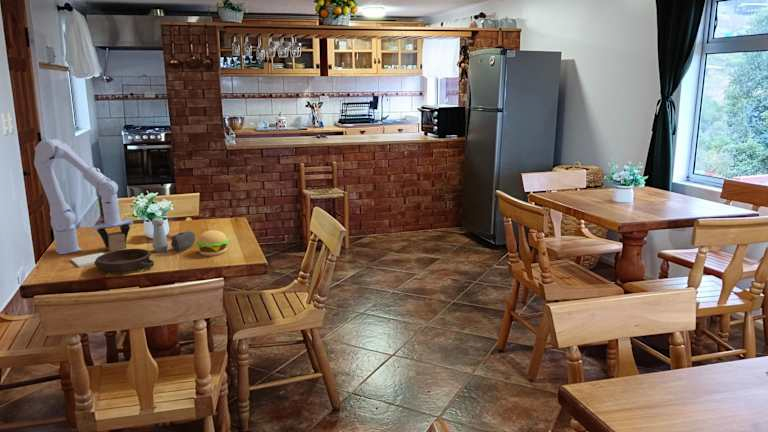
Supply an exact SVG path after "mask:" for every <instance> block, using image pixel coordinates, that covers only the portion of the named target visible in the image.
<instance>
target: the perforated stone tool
mask: <svg viewBox="0 0 768 432" xmlns="http://www.w3.org/2000/svg"><path fill="white" fill-rule="evenodd" d="M170 239H171V243H170V245H171V248H172V249H173V250H172V251H174V252H176V253H177V252H178V253H180V252H184V251H186V250H187V249H189V248H191V247H192V246H193V245H194V243H195V241H196V235H195V233H194V232H193V231H182V232H178V233H176V234H174V235H172V236H170Z"/></svg>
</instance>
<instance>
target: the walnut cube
mask: <svg viewBox="0 0 768 432" xmlns="http://www.w3.org/2000/svg"><path fill="white" fill-rule="evenodd" d="M107 240H108V245H109V247H105V249H106V250H107V251H108V252H113V251H117V250H123V249H127V240H126V241H125V234H124V233H122V232H121V230H120V231H114V232H109V233H108V232H107Z"/></svg>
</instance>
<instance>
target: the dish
mask: <svg viewBox="0 0 768 432" xmlns="http://www.w3.org/2000/svg"><path fill="white" fill-rule="evenodd" d="M151 255H152V252H151V251H150V250H147V249H144V248H143V249H142V248H126V249H122V250H117V251H112V252H110V251H108V252H107V253H104V254H103V255H101V256H99V257H98V258H97V259H96V261H95V262H94V263H95V264H94V265H95V267H98V268H100V269H101V270H102V271H103V272H105V273H109V274H125V273H128V274H129V273H133V272H137V271H140V270H143V269H150V268H153V267H154V265H155V261H153V259H150V257H151Z"/></svg>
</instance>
